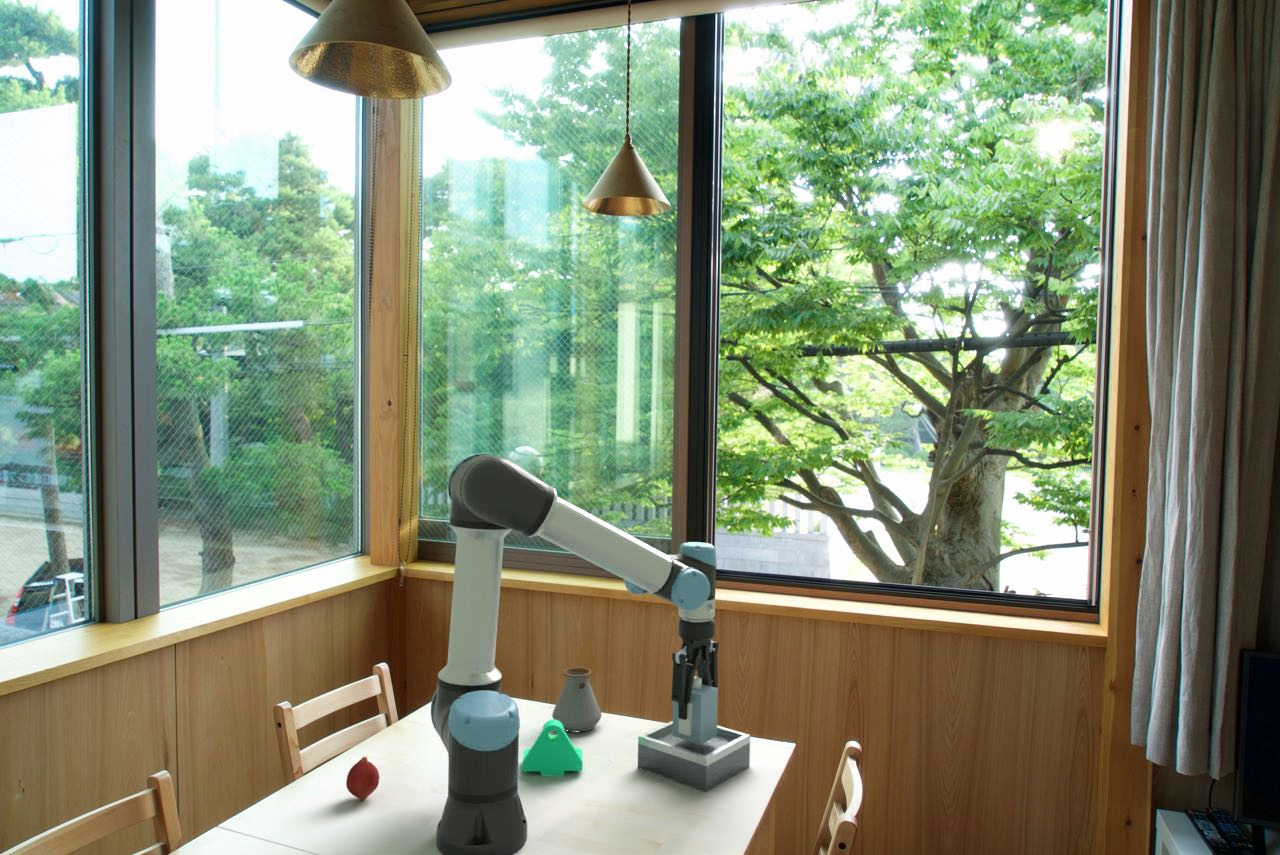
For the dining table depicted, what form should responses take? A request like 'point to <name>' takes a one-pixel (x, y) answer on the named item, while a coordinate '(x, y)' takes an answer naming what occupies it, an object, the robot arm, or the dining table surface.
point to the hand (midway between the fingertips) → (694, 729)
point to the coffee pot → (577, 702)
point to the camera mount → (552, 752)
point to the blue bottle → (699, 713)
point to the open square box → (694, 756)
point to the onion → (362, 779)
